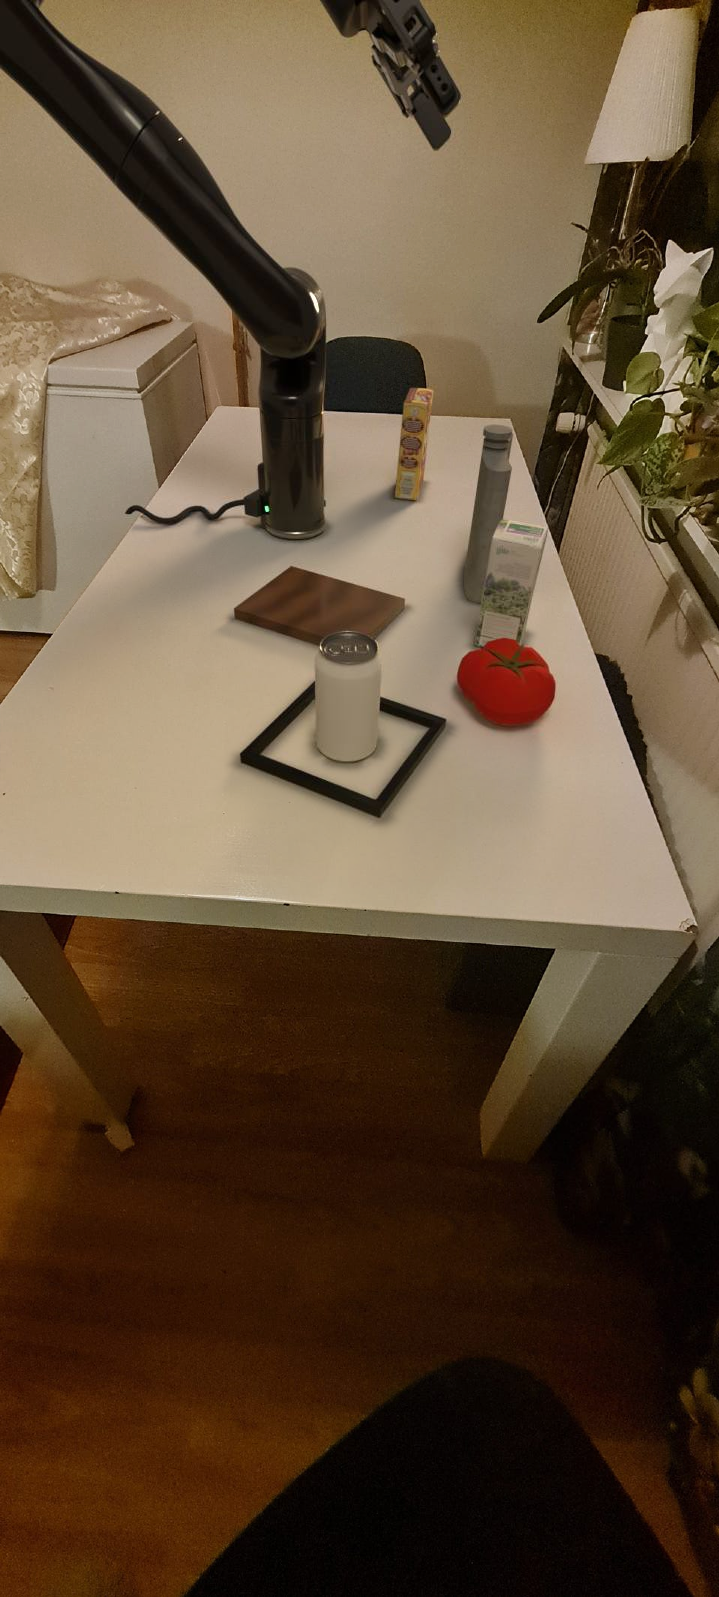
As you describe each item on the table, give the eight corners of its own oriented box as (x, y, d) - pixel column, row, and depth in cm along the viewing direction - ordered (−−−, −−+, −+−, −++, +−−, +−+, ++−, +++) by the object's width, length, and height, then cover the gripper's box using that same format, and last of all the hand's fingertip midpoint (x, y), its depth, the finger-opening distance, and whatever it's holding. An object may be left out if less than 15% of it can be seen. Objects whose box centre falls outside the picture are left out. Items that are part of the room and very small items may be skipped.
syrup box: (525, 633, 92) (550, 523, 82) (517, 657, 88) (542, 544, 78) (482, 624, 93) (501, 515, 83) (472, 647, 89) (491, 535, 79)
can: (314, 725, 77) (313, 628, 68) (373, 724, 77) (379, 627, 69) (317, 765, 72) (315, 666, 64) (380, 763, 73) (386, 665, 64)
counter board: (234, 618, 92) (233, 608, 91) (291, 575, 101) (291, 565, 100) (355, 657, 87) (355, 647, 86) (404, 608, 96) (405, 598, 95)
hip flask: (488, 604, 97) (515, 450, 83) (459, 600, 98) (481, 447, 84) (492, 553, 109) (516, 410, 95) (465, 550, 109) (486, 407, 95)
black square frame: (240, 762, 72) (239, 753, 71) (319, 683, 83) (319, 675, 82) (379, 818, 67) (380, 809, 66) (445, 727, 77) (446, 718, 77)
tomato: (489, 744, 76) (500, 694, 71) (441, 687, 83) (448, 639, 78) (565, 723, 79) (579, 674, 74) (512, 671, 86) (522, 623, 81)
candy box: (418, 501, 122) (427, 403, 111) (394, 498, 123) (400, 401, 112) (425, 482, 128) (434, 388, 118) (401, 480, 129) (408, 386, 118)
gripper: (315, 21, 71) (413, 182, 76) (302, -69, 58) (422, 131, 64) (373, -48, 68) (470, 123, 74) (373, -158, 56) (491, 58, 61)
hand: (448, 126), depth 69 cm, fingers open, 8 cm apart
